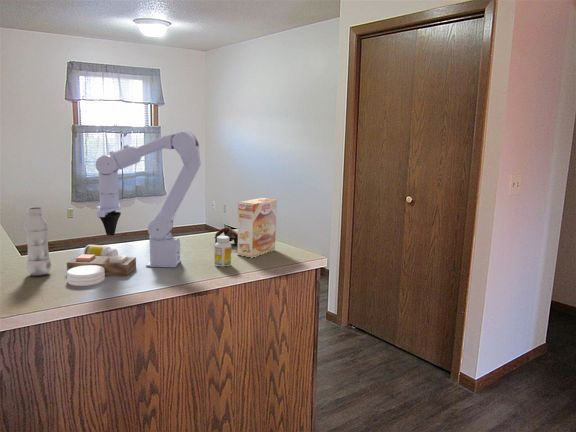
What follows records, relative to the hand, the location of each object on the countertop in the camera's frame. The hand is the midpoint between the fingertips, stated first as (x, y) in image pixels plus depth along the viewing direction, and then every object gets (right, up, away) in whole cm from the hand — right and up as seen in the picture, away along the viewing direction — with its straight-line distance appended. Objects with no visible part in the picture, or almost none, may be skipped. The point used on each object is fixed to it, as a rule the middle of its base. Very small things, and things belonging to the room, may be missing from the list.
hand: (110, 235), depth 149 cm
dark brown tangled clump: (+34, -6, +30) cm, 46 cm away
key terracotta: (-5, -9, -7) cm, 12 cm away
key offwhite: (+5, -9, -7) cm, 13 cm away
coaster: (-1, -13, -16) cm, 20 cm away
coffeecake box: (+46, -8, +20) cm, 51 cm away
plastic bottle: (-16, -11, -12) cm, 23 cm away
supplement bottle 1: (-9, -6, +4) cm, 11 cm away
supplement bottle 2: (+36, -10, +4) cm, 37 cm away
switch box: (0, -11, -7) cm, 13 cm away
